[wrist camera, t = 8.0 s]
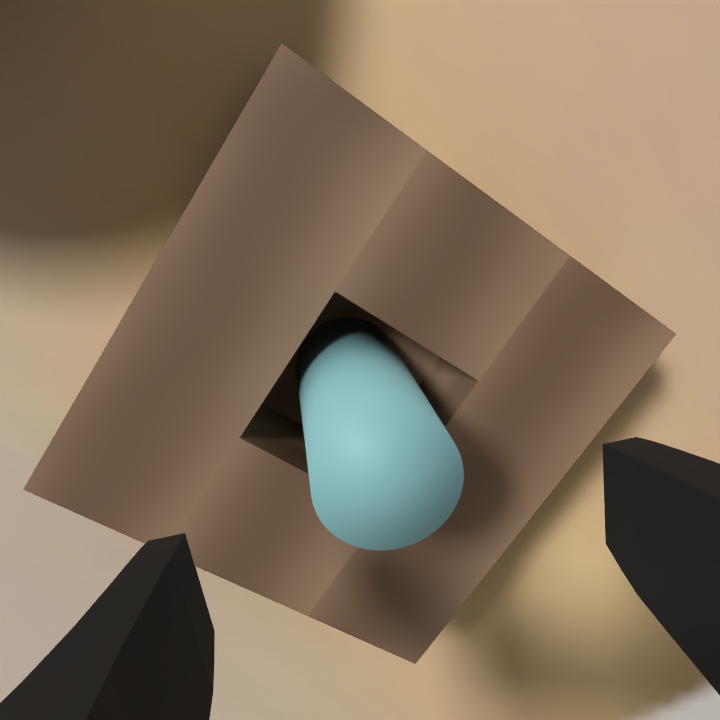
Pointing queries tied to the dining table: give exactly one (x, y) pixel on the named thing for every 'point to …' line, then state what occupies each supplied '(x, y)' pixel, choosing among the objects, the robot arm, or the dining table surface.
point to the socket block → (301, 317)
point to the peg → (372, 440)
